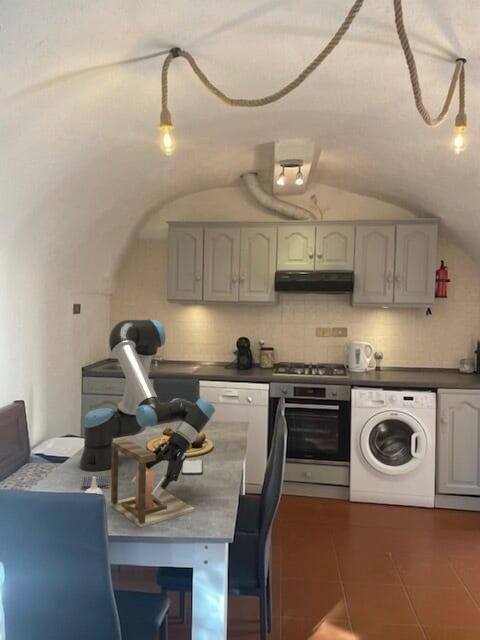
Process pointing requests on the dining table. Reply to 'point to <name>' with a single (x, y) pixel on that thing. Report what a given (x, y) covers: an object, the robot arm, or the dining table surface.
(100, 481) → the woven mat
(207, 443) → the wooden plate with food
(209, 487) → the dining table surface
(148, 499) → the tan cylinder
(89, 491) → the garlic bulb
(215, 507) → the dining table surface
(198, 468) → the phone case
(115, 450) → the wooden c-frame stand
